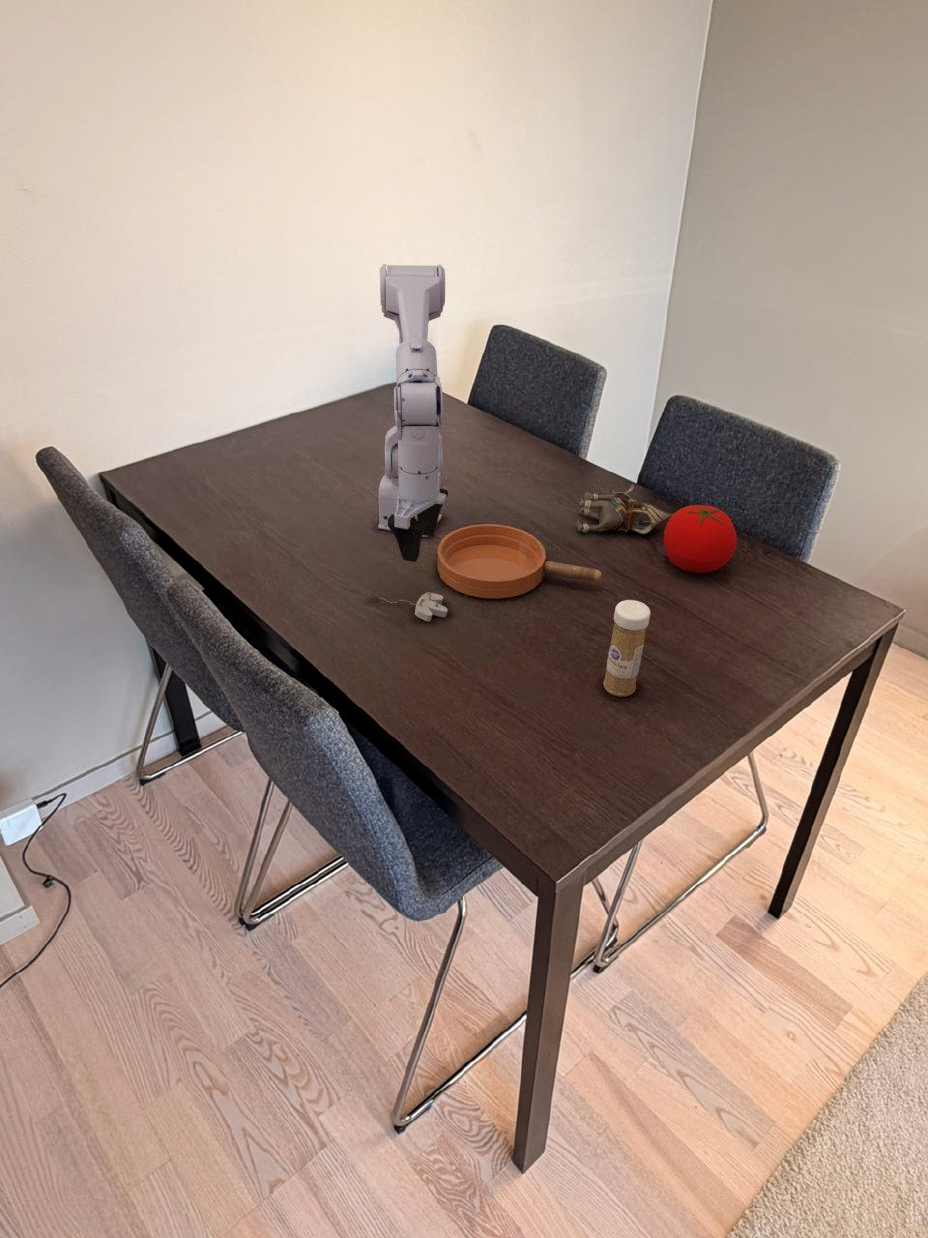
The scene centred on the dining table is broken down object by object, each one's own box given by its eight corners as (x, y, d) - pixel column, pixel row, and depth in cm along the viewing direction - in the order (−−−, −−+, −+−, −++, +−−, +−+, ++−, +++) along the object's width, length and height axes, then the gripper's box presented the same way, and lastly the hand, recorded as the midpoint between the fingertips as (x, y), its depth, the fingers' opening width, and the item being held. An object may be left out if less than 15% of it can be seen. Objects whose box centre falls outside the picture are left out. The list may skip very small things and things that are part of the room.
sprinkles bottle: (596, 688, 120) (608, 609, 113) (614, 672, 123) (627, 594, 115) (625, 703, 118) (639, 623, 110) (642, 686, 121) (657, 607, 113)
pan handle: (541, 574, 140) (542, 563, 139) (544, 568, 142) (545, 557, 141) (600, 585, 138) (601, 574, 137) (602, 578, 140) (603, 568, 139)
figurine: (586, 469, 163) (677, 481, 161) (582, 499, 166) (671, 510, 164) (576, 514, 147) (678, 527, 144) (572, 546, 150) (671, 560, 147)
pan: (422, 588, 139) (422, 569, 137) (455, 534, 153) (456, 516, 151) (529, 609, 135) (531, 589, 133) (553, 552, 149) (555, 534, 147)
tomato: (673, 586, 142) (685, 530, 135) (649, 547, 151) (659, 493, 145) (739, 582, 143) (753, 526, 137) (711, 543, 153) (723, 490, 147)
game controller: (447, 624, 132) (447, 610, 130) (370, 622, 132) (370, 608, 130) (448, 602, 136) (448, 588, 135) (374, 600, 136) (373, 586, 135)
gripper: (428, 492, 117) (428, 576, 125) (460, 448, 128) (458, 528, 136) (379, 484, 119) (382, 567, 127) (415, 441, 130) (416, 520, 138)
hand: (418, 546), depth 132 cm, fingers open, 7 cm apart
